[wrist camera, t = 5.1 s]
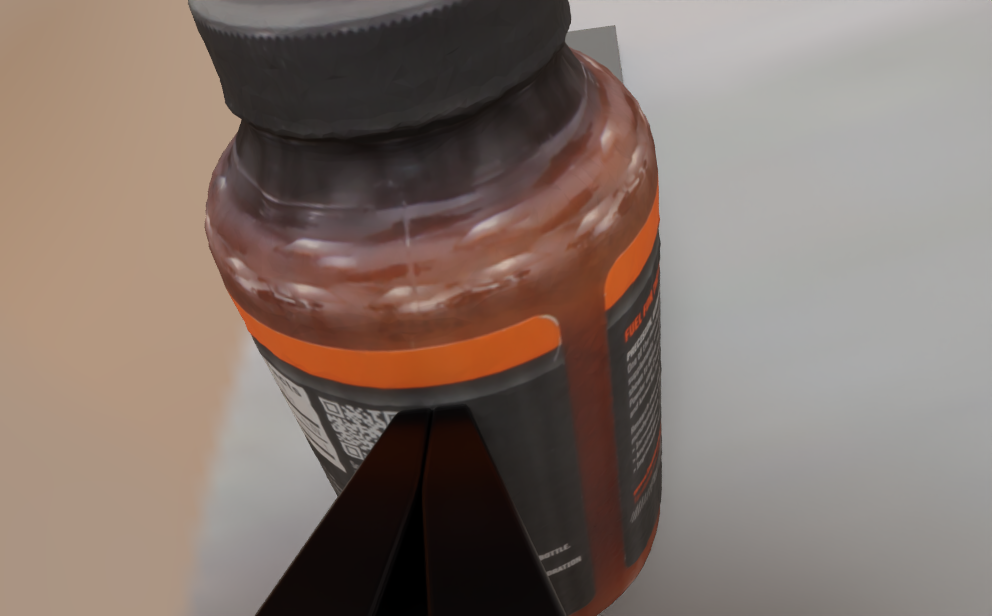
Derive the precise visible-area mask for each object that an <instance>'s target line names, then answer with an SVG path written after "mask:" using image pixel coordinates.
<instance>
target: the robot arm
mask: <svg viewBox="0 0 992 616" xmlns="http://www.w3.org/2000/svg"><path fill="white" fill-rule="evenodd" d="M255 616H566V613H565V611H564V609H563V607H562V605H561V603H560V601H559V598H558V596H557V594H556V592H555V590H554V588H553V586H552V583H551V581H550V579H549V577H548V575H547V573H546V571H545V569H544V566H543V564H542V562H541V560H540V558H539V556H538V554H537V551H536V549H535V547H534V545H533V543H532V541H531V539H530V536H529V534H528V532H527V530H526V528H525V526H524V524H523V521H522V519H521V517H520V515H519V513H518V511H517V509H516V506H515V504H514V502H513V500H512V498H511V496H510V494H509V491H508V489H507V487H506V485H505V483H504V481H503V479H502V477H501V474H500V472H499V470H498V468H497V466H496V464H495V462H494V459H493V457H492V455H491V453H490V451H489V449H488V447H487V444H486V442H485V440H484V438H483V436H482V434H481V432H480V429H479V427H478V425H477V423H476V421H475V419H474V417H473V414H472V412H471V410H470V408H469V407H468V406H467V405H465V404H457V405H448V406H439V407H436V408H435V409H434V410H431V409H429V408H420V409H411V410H402V411H399V412H398V413H397V414H395V416H394V417H393V418H392V420H391V421H390V423H389V424H388V426H387V427H386V428H385V430H384V431H383V433H382V434H381V436H380V437H379V439H378V440H377V441H376V443H375V444H374V446H373V447H372V449H371V450H370V451H369V453H368V454H367V456H366V457H365V459H364V460H363V461H362V463H361V464H360V466H359V467H358V469H357V470H356V471H355V473H354V474H353V476H352V477H351V479H350V480H349V481H348V483H347V484H346V486H345V487H344V489H343V490H342V492H341V493H340V494H339V496H338V497H337V499H336V500H335V502H334V503H333V504H332V506H331V507H330V509H329V510H328V512H327V513H326V514H325V516H324V517H323V519H322V520H321V522H320V523H319V524H318V526H317V527H316V529H315V530H314V532H313V533H312V535H311V536H310V537H309V539H308V540H307V542H306V543H305V545H304V546H303V547H302V549H301V550H300V552H299V553H298V555H297V556H296V557H295V559H294V560H293V562H292V563H291V565H290V566H289V567H288V569H287V570H286V572H285V573H284V575H283V576H282V578H281V579H280V580H279V582H278V583H277V585H276V586H275V588H274V589H273V590H272V592H271V593H270V595H269V596H268V598H267V599H266V600H265V602H264V603H263V605H262V606H261V608H260V609H259V610H258V612H257V613H256V615H255Z"/></svg>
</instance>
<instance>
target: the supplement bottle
mask: <svg viewBox="0 0 992 616" xmlns="http://www.w3.org/2000/svg"><path fill="white" fill-rule="evenodd" d="M188 5H189V7H190V10H191V13H192V15H193V18H194V21H195V23H196V26H197V29H198V31H199V33H200V35H201V37H202V39H203V41H204V43H205V45H206V47H207V50H208V52H209V54H210V56H211V59H212V61H213V64H214V66H215V69H216V71H217V74H218V76H219V78H220V82H221V85H222V89H223V93H224V98H225V103H226V105H227V106H228V108H229V109H230V110H231V111H232V113H233V114H235V115H236V116H238V117H239V118H241V119H242V120H241V124H240V127H239V130H238V132H237V134H236V135H235V137H234V138H233V139H232V140H231V142H230V143H229V144H228V146H227V148H226V149H225V151H224V152H223V153H222V155H221V157H220V159H219V161H218V164H217V166H216V167H215V169H214V171H213V173H212V178H211V181H210V185H209V190H208V199H207V202H206V220H205V231H206V235H207V239H208V242H209V248H210V250H211V253H212V255H213V258H214V260H215V263H216V265H217V267H218V269H219V271H220V274H221V276H222V279H223V282H224V285H225V287H226V289H227V291H228V293H229V295H230V296H231V298H232V300H233V302H234V304H235V306H236V307H237V309H238V311H239V313H240V315H241V316H242V318H243V320H244V321H245V324H246V326H247V329H248V331H249V332H250V333H251V335H252V338H253V340H254V342H255V344H256V346H257V348H258V350H259V352H260V353H261V355H262V357H263V359H264V360H265V362H266V364H267V366H268V367H269V369H270V371H271V373H272V375H273V377H274V379H275V381H276V383H277V384H278V386H279V388H280V390H281V392H282V394H283V395H284V397H285V399H286V401H287V403H288V405H289V406H290V408H291V410H292V412H293V414H294V416H295V418H296V419H297V421H298V423H299V425H300V427H301V429H302V431H303V433H304V434H305V436H306V438H307V440H308V442H309V444H310V446H311V448H312V450H313V451H314V453H315V455H316V457H317V458H318V460H319V462H320V464H321V466H322V468H323V470H324V471H325V473H326V476H327V478H328V479H329V481H330V483H331V485H332V487H333V488H334V490H335V492H336V494H337V496H339V494H340V493H341V492H342V490H343V489H344V487H345V486H346V484H347V483H348V481H349V480H350V479H351V477H352V476H353V474H354V473H355V471H356V470H357V469H358V467H359V466H360V464H361V463H362V461H363V460H364V459H365V457H366V456H367V454H368V453H369V451H370V450H371V449H372V447H373V446H374V444H375V443H376V441H377V440H378V439H379V437H380V436H381V434H382V433H383V431H384V430H385V428H386V427H387V426H388V424H389V423H390V421H391V420H392V418H393V417H394V416H395V414H397V413H398V412H399V411H402V410H411V409H420V408H429V409H431V410H434V409H435V408H436V407H439V406H448V405H457V404H465V405H467V406H468V407H469V408H470V410H471V412H472V414H473V417H474V419H475V421H476V423H477V425H478V427H479V429H480V432H481V434H482V436H483V438H484V440H485V442H486V444H487V447H488V449H489V451H490V453H491V455H492V457H493V459H494V462H495V464H496V466H497V468H498V470H499V472H500V474H501V477H502V479H503V481H504V483H505V485H506V487H507V489H508V491H509V494H510V496H511V498H512V500H513V502H514V504H515V506H516V509H517V511H518V513H519V515H520V517H521V519H522V521H523V524H524V526H525V528H526V530H527V532H528V534H529V536H530V539H531V541H532V543H533V545H534V547H535V549H536V551H537V554H538V556H539V558H540V560H541V562H542V564H543V566H544V569H545V571H546V573H547V575H548V577H549V579H550V581H551V583H552V586H553V588H554V590H555V592H556V594H557V596H558V598H559V601H560V603H561V605H562V607H563V609H564V611H565V613H566V616H596V615H598V614H599V613H600V612H602V611H603V610H604V609H606V608H607V607H608V606H610V605H611V604H612V603H613V602H614V601H615V600H616V599H617V598H618V597H620V595H621V594H622V593H623V592H624V591H625V590H626V589H627V588H628V586H629V585H630V584H631V583H632V582H633V581H634V579H635V578H636V577H637V575H638V574H639V572H640V571H641V569H642V567H643V566H644V563H645V561H646V559H647V557H648V555H649V552H650V551H651V547H652V544H653V541H654V538H655V535H656V531H657V526H658V521H659V514H660V502H661V490H662V486H661V485H662V469H661V468H662V462H661V455H662V435H661V360H660V359H661V347H660V335H661V334H660V328H661V324H660V267H659V261H660V245H661V243H660V237H659V229H658V228H659V221H660V217H659V186H658V168H657V161H656V154H655V145H654V140H653V137H652V133H651V130H650V125H649V123H648V120H647V118H646V116H645V115H644V114H643V112H642V110H641V108H640V105H639V103H638V101H637V100H636V99H635V98H634V97H633V95H632V94H631V93H630V92H629V91H628V90H627V89H626V87H625V86H624V85H623V83H622V82H621V81H620V80H619V79H618V78H617V77H616V76H615V75H614V74H613V73H612V72H611V71H610V70H609V69H608V68H607V67H605V66H604V65H602V64H600V63H599V62H597V61H596V60H595V59H593V58H591V57H590V56H588V55H586V54H583V53H582V52H581V51H577V50H574V49H572V48H571V47H568V45H567V44H566V42H565V37H566V34H567V32H568V29H569V26H570V24H571V13H570V6H569V2H568V0H188Z"/></svg>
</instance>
